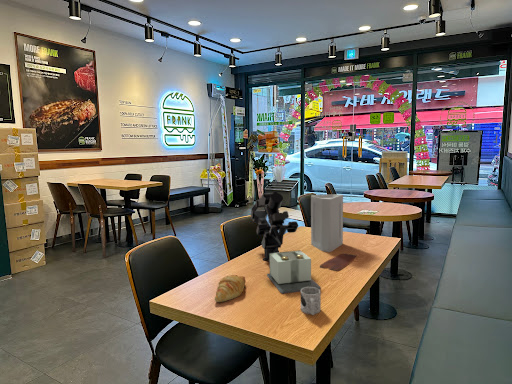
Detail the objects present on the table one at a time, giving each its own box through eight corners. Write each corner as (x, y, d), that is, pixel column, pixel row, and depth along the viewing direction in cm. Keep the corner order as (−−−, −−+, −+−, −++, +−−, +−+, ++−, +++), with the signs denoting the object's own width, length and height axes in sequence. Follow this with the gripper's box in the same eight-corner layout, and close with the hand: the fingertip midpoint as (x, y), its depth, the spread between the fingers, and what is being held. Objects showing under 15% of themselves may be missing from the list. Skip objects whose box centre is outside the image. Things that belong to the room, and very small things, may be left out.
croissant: (223, 315, 120) (232, 298, 118) (201, 298, 123) (209, 281, 120) (249, 291, 139) (257, 275, 137) (229, 277, 142) (236, 261, 140)
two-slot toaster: (269, 273, 147) (269, 253, 146) (300, 270, 150) (300, 250, 149) (278, 284, 135) (277, 262, 134) (311, 280, 139) (311, 258, 137)
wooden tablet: (338, 273, 150) (338, 269, 150) (318, 268, 156) (318, 265, 156) (360, 257, 171) (360, 253, 171) (341, 253, 177) (341, 250, 177)
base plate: (266, 275, 148) (266, 250, 146) (301, 271, 151) (301, 247, 150) (281, 293, 128) (280, 265, 127) (320, 288, 132) (320, 261, 131)
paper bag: (319, 240, 202) (318, 193, 199) (343, 243, 194) (343, 194, 190) (304, 248, 187) (304, 197, 183) (330, 252, 178) (330, 199, 175)
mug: (299, 305, 119) (299, 287, 118) (319, 305, 119) (318, 286, 118) (302, 319, 109) (302, 299, 108) (323, 319, 109) (323, 299, 108)
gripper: (257, 206, 152) (264, 236, 143) (296, 204, 157) (306, 233, 148) (253, 220, 161) (260, 249, 152) (291, 217, 165) (299, 245, 156)
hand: (281, 244), depth 152 cm, fingers closed
